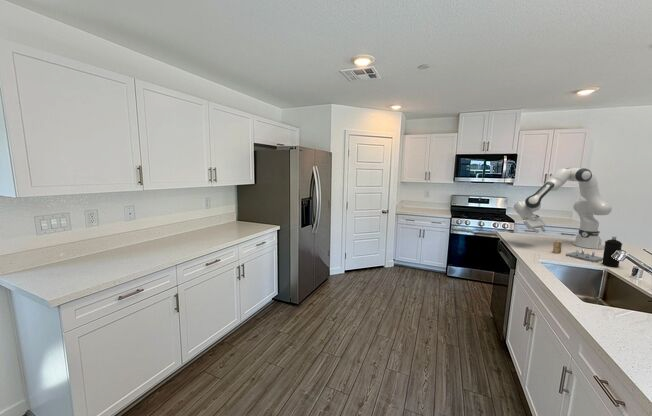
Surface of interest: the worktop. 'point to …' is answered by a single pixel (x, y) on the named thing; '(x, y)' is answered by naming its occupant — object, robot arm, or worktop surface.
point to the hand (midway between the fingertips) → (541, 231)
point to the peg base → (585, 256)
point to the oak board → (557, 247)
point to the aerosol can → (611, 252)
